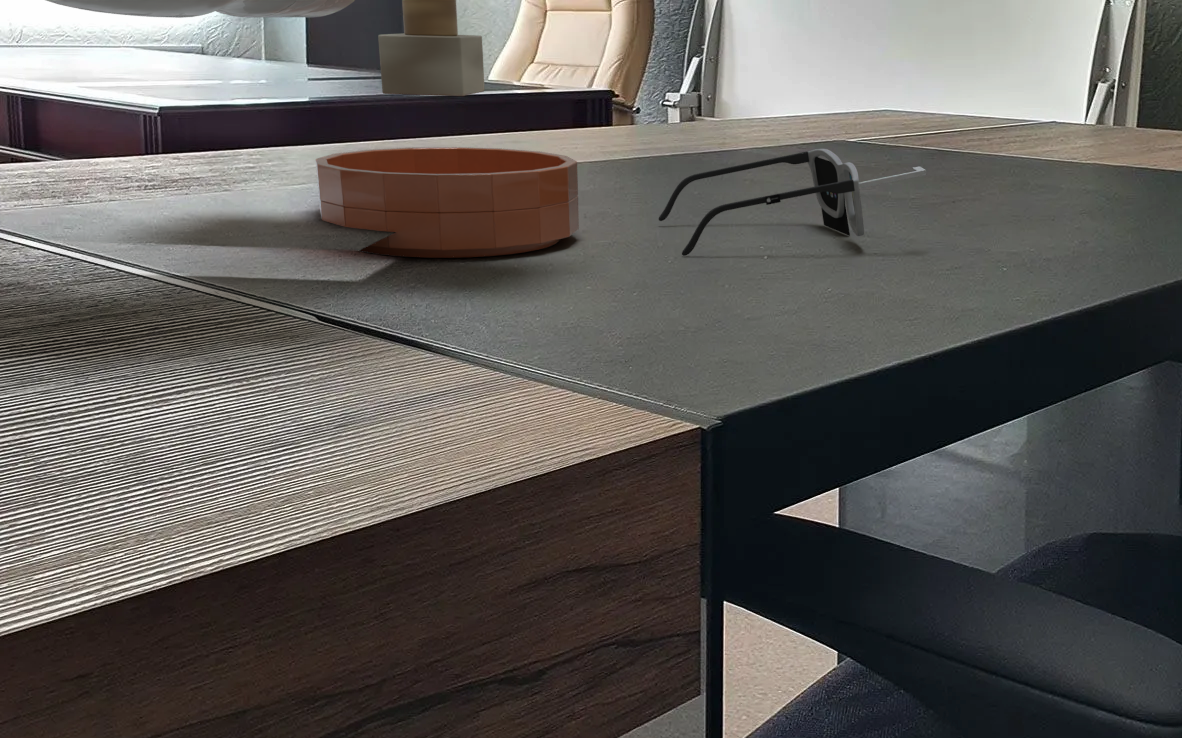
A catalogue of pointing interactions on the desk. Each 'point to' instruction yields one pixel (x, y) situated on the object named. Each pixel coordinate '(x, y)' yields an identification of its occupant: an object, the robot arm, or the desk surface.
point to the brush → (431, 53)
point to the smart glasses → (804, 191)
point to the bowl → (451, 199)
